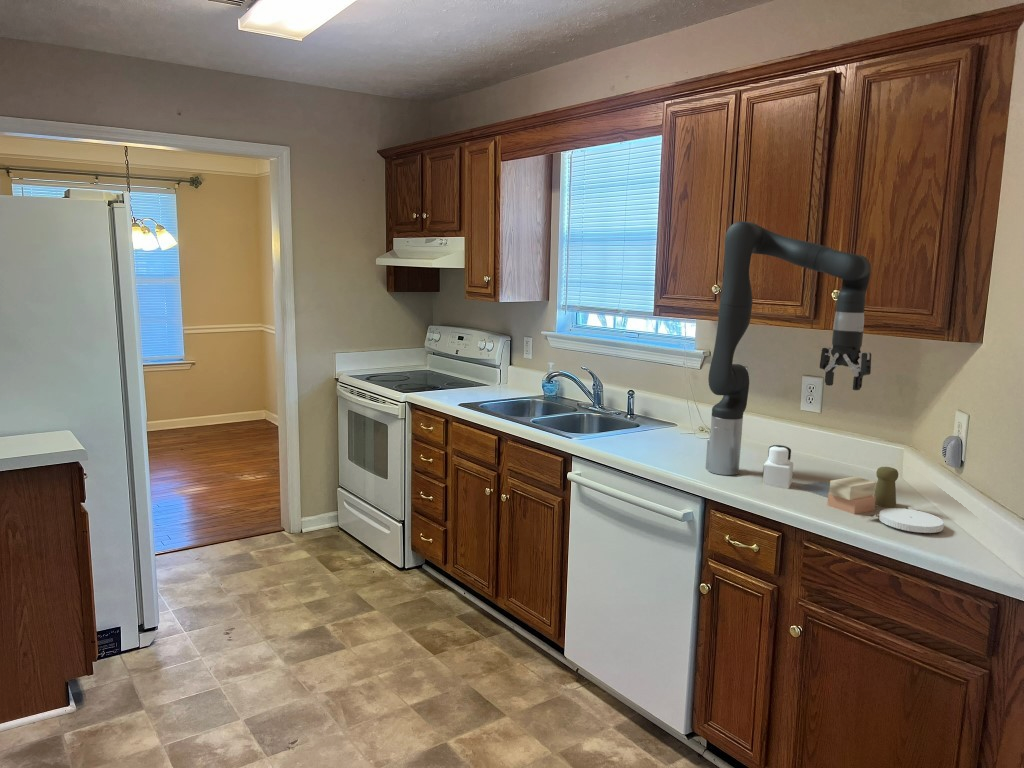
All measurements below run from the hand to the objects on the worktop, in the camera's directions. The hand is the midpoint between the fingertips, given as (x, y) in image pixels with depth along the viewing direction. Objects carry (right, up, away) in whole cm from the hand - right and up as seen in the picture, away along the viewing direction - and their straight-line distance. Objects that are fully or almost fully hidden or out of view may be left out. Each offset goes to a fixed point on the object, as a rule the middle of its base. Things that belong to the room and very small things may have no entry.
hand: (842, 387), depth 206 cm
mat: (-3, -30, +4) cm, 30 cm away
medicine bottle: (-15, -29, +9) cm, 34 cm away
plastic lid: (+7, -34, -22) cm, 41 cm away
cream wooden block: (-3, -28, -12) cm, 30 cm away
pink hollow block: (-3, -32, -11) cm, 34 cm away
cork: (+7, -32, -8) cm, 34 cm away
